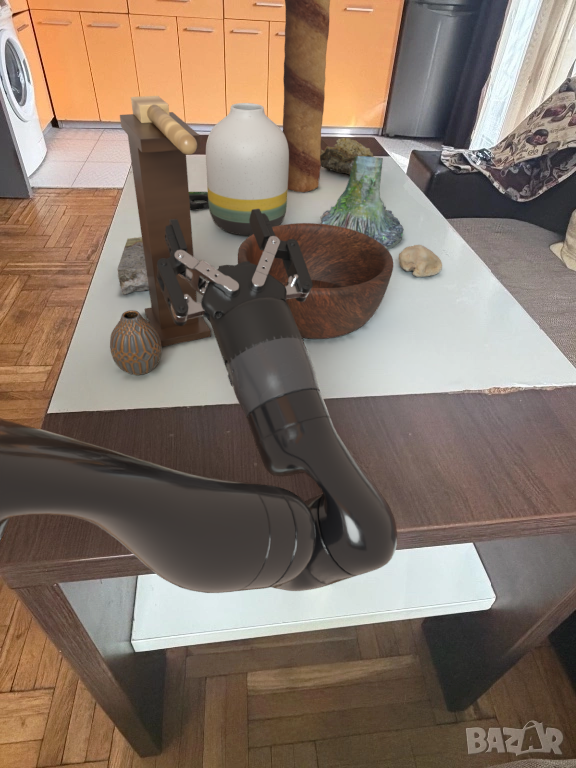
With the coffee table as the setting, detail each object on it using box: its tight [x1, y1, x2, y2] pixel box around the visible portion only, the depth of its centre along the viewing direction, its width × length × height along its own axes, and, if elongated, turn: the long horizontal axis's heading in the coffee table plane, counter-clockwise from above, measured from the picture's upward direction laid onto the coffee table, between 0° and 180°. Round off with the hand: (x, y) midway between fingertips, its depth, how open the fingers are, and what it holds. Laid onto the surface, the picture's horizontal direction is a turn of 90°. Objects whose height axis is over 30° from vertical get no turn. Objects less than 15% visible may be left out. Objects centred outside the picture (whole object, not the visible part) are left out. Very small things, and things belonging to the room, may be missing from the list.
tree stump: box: [319, 156, 404, 250], centre depth 114 cm, size 18×20×18 cm
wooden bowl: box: [237, 222, 394, 340], centre depth 87 cm, size 25×25×10 cm
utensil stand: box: [119, 111, 212, 348], centre depth 74 cm, size 12×8×30 cm, turn 25°
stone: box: [398, 244, 443, 278], centre depth 102 cm, size 7×6×8 cm
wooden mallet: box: [130, 95, 198, 156], centre depth 61 cm, size 20×4×2 cm, turn 25°
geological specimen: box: [117, 236, 149, 296], centre depth 95 cm, size 11×6×15 cm
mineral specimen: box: [320, 137, 375, 176], centre depth 145 cm, size 14×13×10 cm
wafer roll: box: [282, 0, 331, 193], centre depth 124 cm, size 10×11×45 cm
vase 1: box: [109, 309, 163, 376], centre depth 73 cm, size 7×7×9 cm
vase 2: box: [205, 102, 289, 236], centre depth 109 cm, size 17×17×24 cm
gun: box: [189, 191, 209, 211], centre depth 124 cm, size 16×2×10 cm
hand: (213, 219), depth 53 cm, fingers open, 8 cm apart
